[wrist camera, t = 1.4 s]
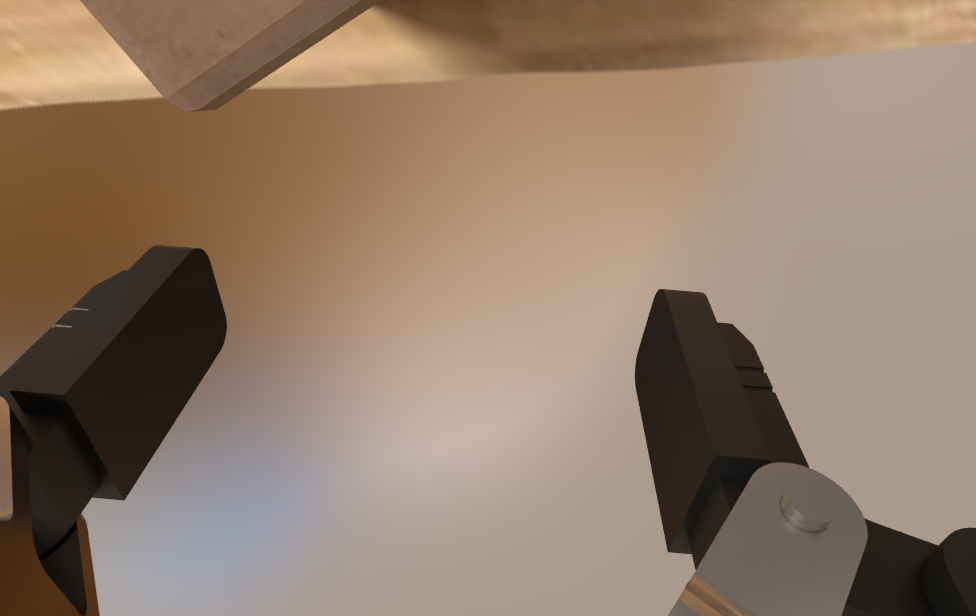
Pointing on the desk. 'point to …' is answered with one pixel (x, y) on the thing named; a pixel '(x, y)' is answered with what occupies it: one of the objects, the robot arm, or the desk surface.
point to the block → (217, 41)
